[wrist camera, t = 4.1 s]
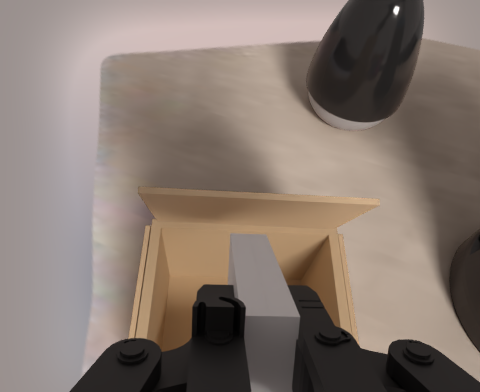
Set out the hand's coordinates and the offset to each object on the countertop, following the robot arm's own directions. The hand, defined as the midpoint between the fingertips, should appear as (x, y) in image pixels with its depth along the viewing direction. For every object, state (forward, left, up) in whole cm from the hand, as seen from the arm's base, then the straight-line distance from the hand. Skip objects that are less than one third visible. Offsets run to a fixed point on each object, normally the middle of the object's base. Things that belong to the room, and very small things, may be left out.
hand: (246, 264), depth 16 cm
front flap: (-1, -4, -3) cm, 5 cm away
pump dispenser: (-13, -26, -16) cm, 33 cm away
